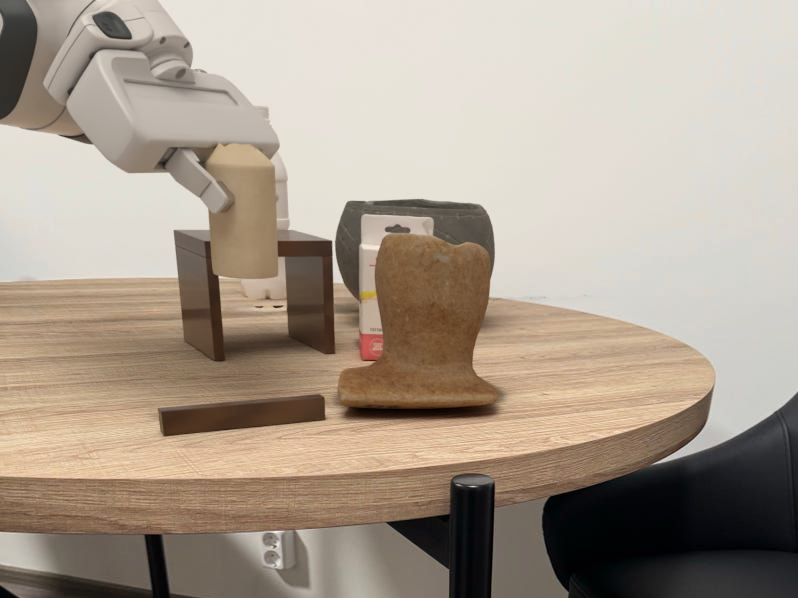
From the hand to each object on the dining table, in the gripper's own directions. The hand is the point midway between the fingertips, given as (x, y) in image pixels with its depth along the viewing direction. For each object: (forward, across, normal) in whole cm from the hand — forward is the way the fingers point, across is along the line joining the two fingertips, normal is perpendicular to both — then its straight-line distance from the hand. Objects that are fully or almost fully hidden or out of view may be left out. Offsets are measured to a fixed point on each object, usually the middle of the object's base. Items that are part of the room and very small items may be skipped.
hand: (248, 206), depth 78 cm
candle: (+4, 0, -4) cm, 6 cm away
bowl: (+8, -48, -16) cm, 52 cm away
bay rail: (+13, +6, -10) cm, 18 cm away
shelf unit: (+2, -23, -22) cm, 32 cm away
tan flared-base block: (+20, -8, -3) cm, 22 cm away
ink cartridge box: (+13, -27, -11) cm, 32 cm away
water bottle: (-8, -50, -33) cm, 60 cm away
